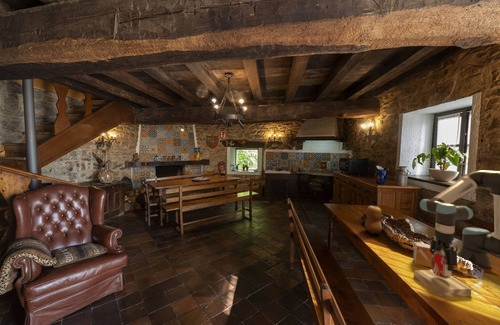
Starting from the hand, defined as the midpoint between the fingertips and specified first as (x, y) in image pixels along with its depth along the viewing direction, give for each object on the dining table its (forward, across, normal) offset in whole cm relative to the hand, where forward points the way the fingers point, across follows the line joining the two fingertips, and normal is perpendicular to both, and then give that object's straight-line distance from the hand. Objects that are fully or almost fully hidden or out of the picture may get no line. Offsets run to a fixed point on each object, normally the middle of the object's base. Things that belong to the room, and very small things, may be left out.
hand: (441, 271), depth 106 cm
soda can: (+3, 0, 0) cm, 3 cm away
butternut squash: (+9, -70, -2) cm, 71 cm away
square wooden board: (+9, 0, 0) cm, 9 cm away
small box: (+9, -22, +6) cm, 24 cm away
